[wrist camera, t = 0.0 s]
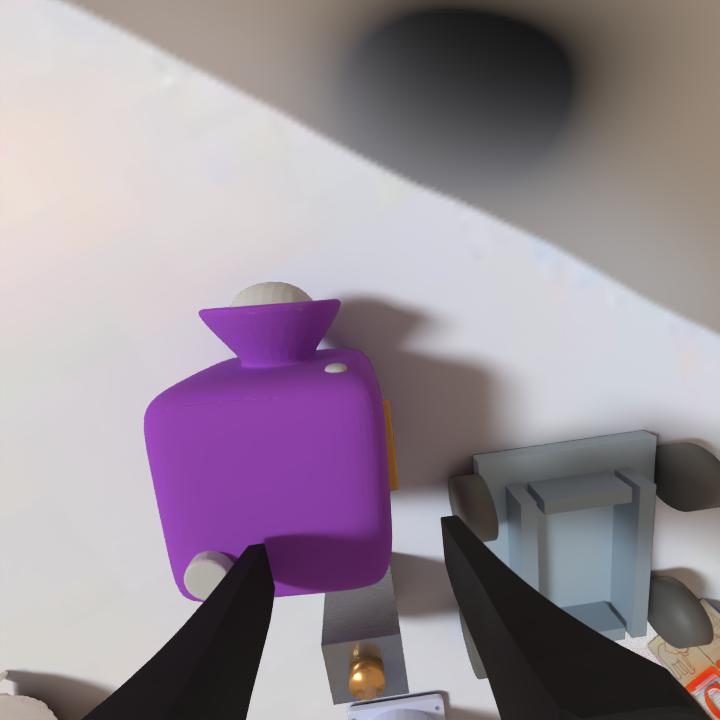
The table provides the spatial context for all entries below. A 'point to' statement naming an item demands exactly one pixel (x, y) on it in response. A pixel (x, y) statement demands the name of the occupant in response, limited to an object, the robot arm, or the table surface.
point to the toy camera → (275, 453)
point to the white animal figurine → (22, 707)
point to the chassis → (591, 528)
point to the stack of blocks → (696, 665)
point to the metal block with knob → (363, 643)
